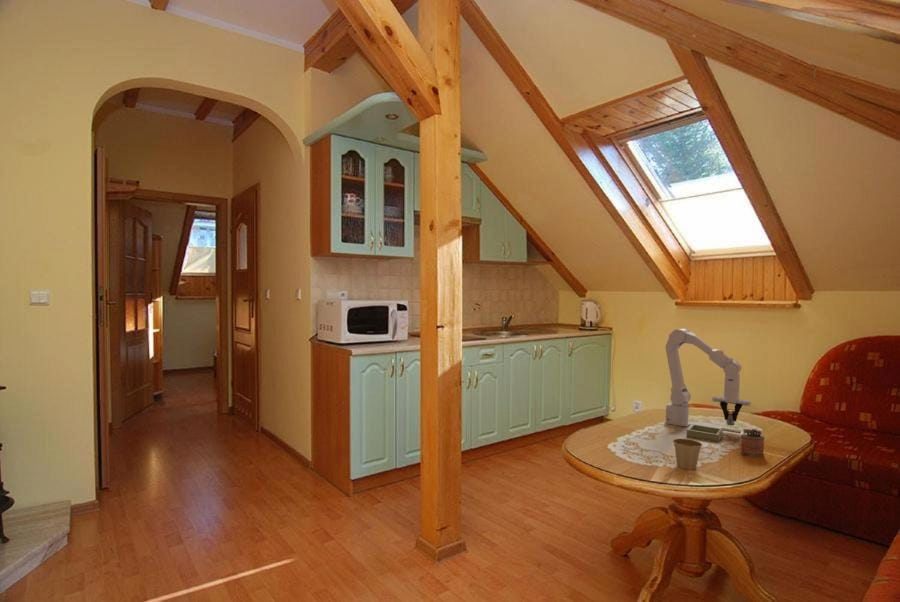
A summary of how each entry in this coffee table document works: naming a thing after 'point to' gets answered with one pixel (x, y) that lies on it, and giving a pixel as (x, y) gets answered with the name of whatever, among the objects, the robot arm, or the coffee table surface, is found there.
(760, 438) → the lighter
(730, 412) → the cylinder
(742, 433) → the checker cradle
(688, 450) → the flower pot
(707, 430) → the bin
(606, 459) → the coffee table surface
